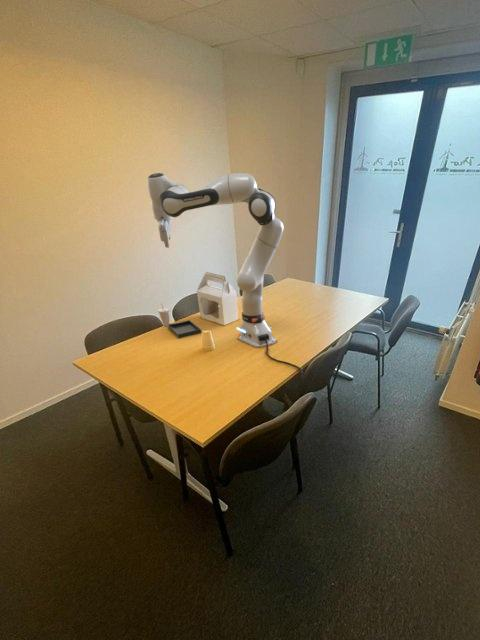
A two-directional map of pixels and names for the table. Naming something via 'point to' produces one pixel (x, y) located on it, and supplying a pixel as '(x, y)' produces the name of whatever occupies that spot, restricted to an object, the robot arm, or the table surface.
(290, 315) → the table surface
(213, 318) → the gable box
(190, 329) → the tray
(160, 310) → the smoothie
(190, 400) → the table surface
